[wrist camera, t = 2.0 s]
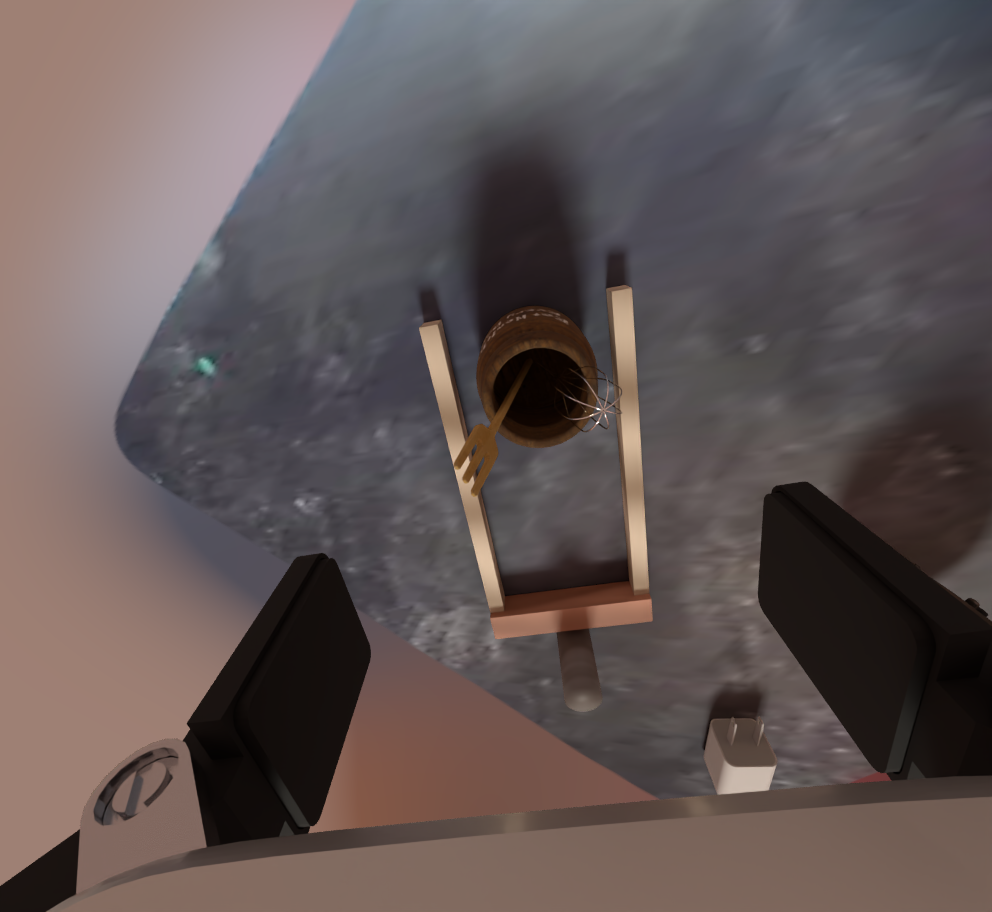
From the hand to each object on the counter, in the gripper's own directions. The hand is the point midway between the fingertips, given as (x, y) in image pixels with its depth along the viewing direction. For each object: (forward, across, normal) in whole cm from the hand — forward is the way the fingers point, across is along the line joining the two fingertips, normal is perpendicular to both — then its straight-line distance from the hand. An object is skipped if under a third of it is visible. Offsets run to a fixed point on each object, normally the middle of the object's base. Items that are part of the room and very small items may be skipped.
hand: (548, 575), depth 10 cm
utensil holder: (+18, -1, 0) cm, 18 cm away
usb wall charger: (+19, -13, +34) cm, 40 cm away
